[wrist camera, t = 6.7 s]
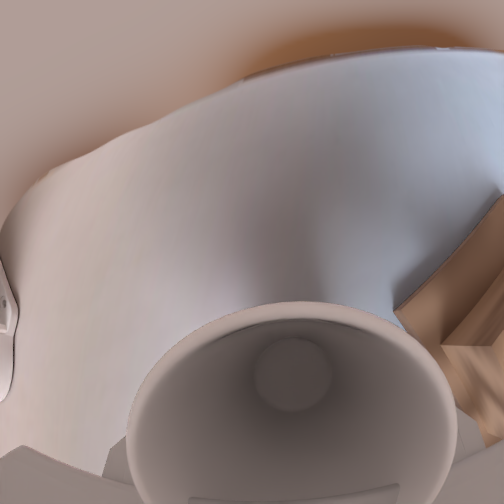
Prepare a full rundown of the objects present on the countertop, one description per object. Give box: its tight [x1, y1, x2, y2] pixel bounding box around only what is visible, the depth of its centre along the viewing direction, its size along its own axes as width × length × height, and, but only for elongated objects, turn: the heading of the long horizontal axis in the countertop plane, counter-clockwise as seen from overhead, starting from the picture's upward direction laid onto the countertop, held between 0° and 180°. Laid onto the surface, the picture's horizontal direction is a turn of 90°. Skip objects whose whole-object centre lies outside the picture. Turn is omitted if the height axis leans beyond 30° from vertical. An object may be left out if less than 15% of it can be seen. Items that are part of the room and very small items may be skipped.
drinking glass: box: [126, 301, 458, 504], centre depth 11 cm, size 7×7×15 cm
